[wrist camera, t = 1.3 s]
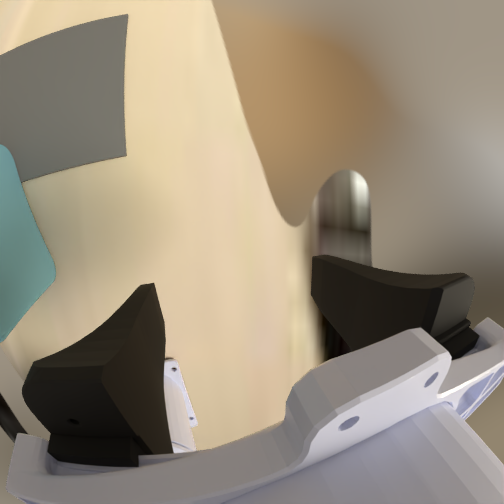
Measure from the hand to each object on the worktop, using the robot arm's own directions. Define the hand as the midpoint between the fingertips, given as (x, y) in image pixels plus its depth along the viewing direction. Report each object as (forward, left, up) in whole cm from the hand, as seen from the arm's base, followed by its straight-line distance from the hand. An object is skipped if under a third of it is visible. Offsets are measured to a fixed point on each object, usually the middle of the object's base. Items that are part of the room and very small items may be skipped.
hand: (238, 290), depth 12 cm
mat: (+15, +16, -11) cm, 24 cm away
